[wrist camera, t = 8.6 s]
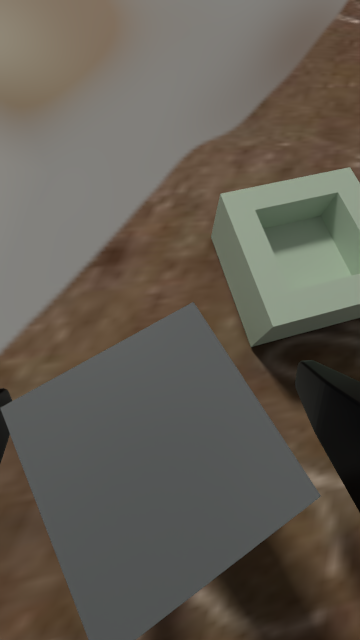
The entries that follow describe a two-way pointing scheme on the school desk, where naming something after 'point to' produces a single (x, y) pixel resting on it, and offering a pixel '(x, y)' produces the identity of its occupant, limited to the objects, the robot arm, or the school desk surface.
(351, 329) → the school desk surface
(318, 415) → the robot arm
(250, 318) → the raised socket
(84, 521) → the plug
